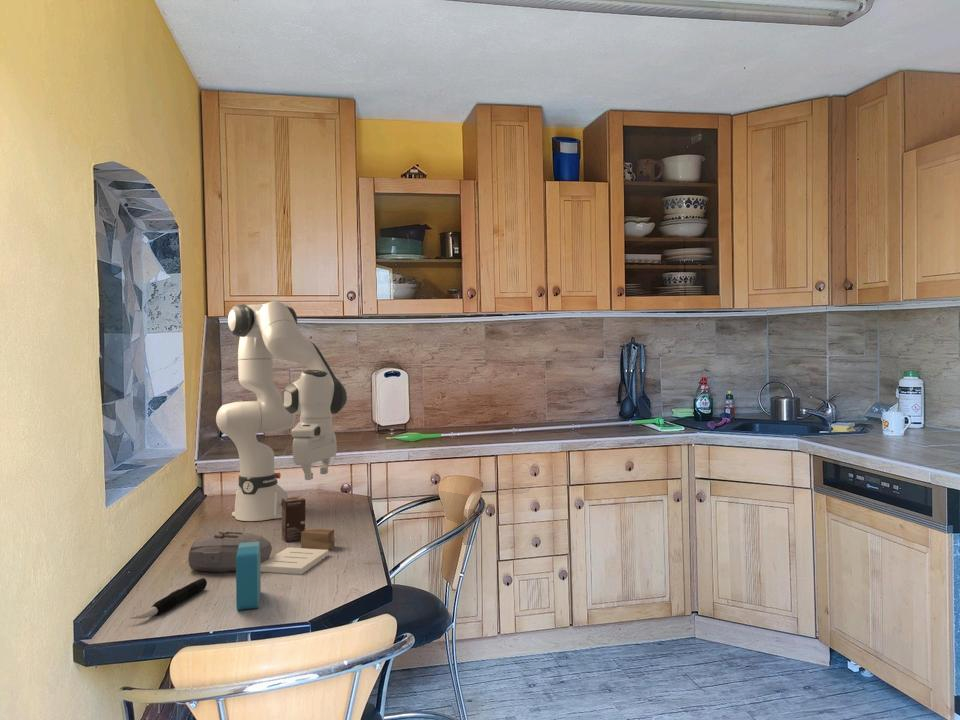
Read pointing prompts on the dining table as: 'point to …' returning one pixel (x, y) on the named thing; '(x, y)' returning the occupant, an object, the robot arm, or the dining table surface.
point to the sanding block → (317, 538)
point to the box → (293, 518)
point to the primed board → (293, 560)
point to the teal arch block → (248, 576)
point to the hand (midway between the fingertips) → (316, 476)
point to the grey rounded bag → (223, 551)
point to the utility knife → (174, 598)
